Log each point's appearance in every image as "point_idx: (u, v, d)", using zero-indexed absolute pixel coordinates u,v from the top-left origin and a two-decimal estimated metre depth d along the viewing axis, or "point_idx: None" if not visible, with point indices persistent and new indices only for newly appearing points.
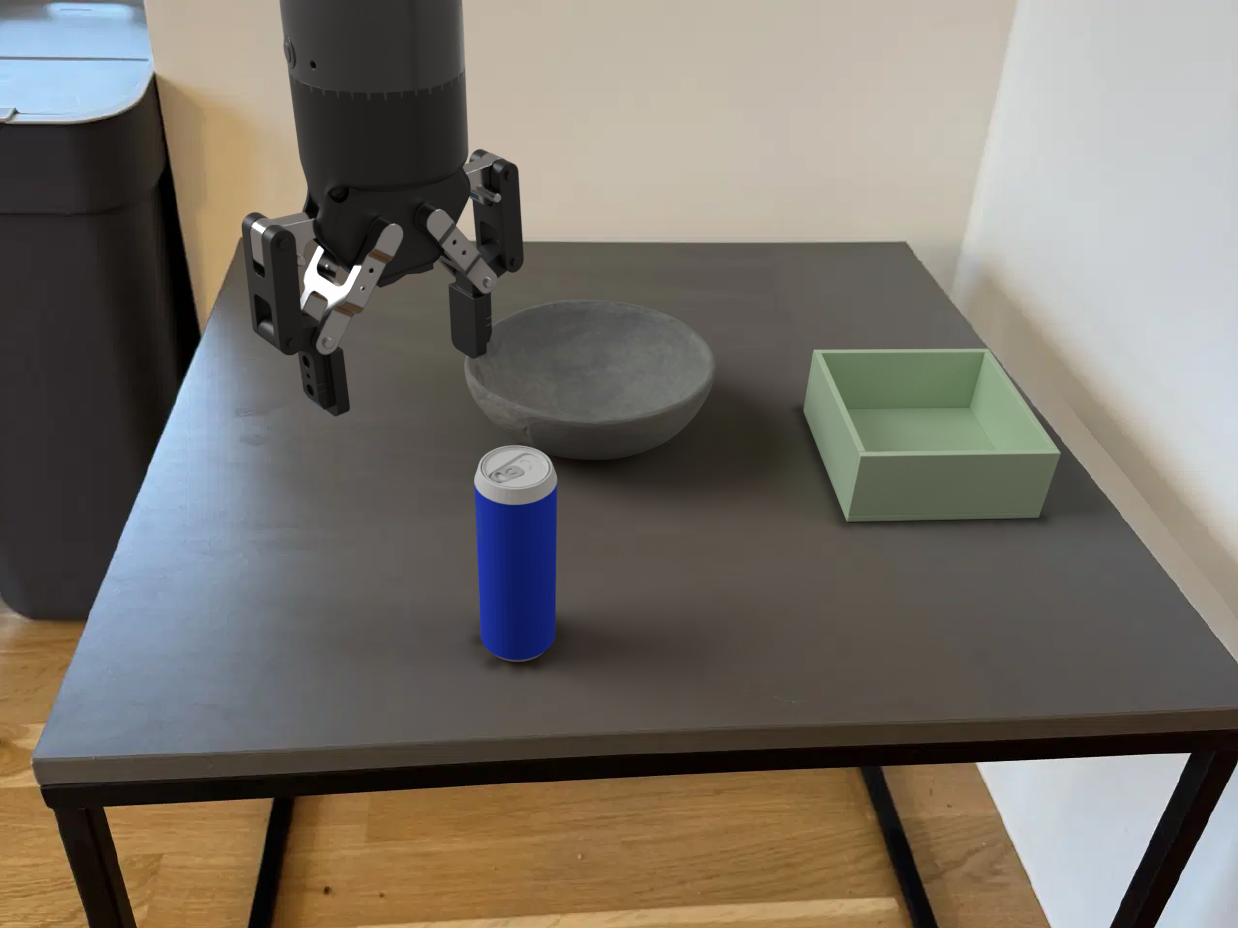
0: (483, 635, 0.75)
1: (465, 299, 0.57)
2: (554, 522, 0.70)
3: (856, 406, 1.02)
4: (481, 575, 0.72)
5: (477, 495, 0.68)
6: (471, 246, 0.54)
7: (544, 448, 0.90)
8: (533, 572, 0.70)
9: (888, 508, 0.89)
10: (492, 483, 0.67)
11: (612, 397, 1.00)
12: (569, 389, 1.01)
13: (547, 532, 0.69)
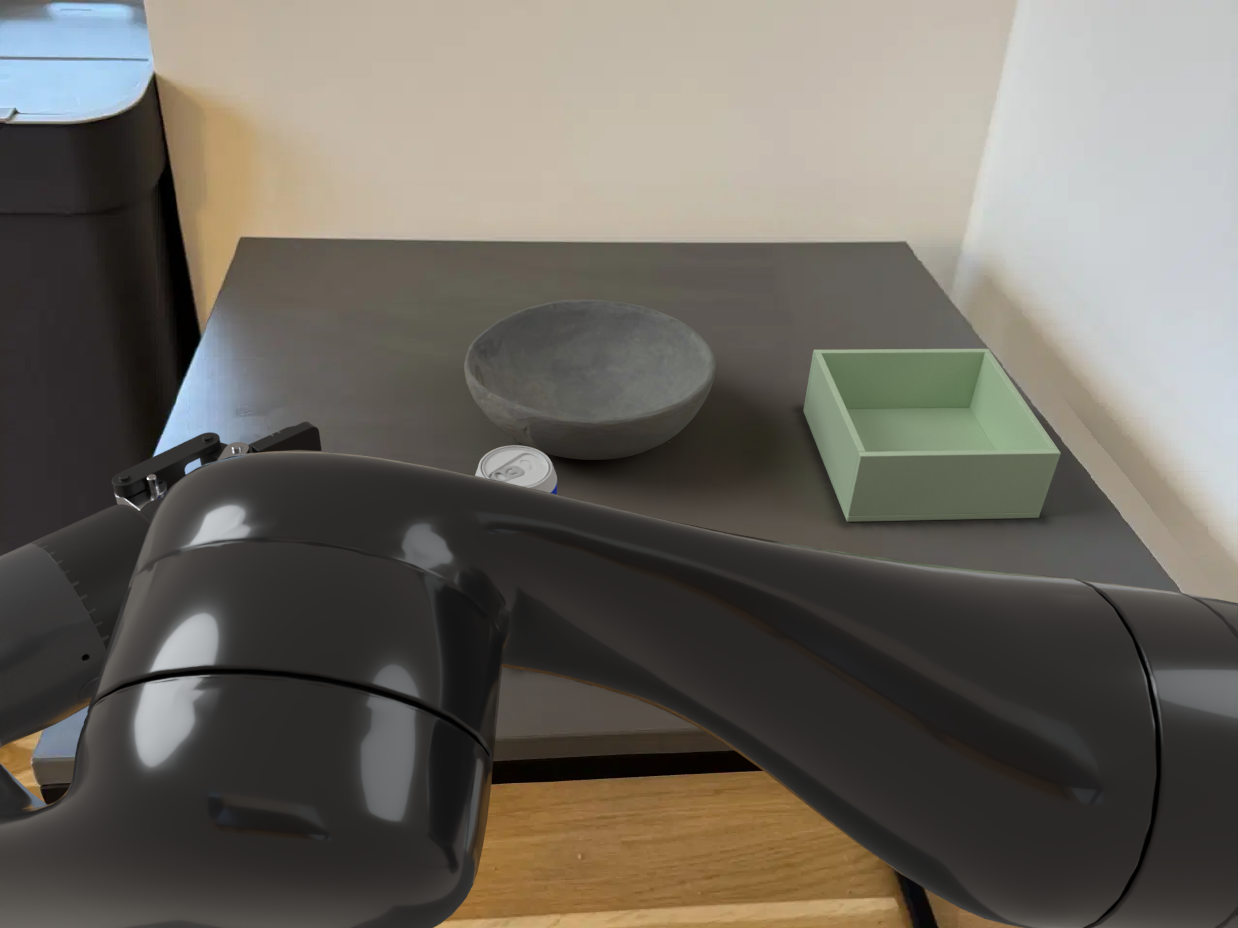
0: None
1: None
2: None
3: (856, 406, 1.02)
4: None
5: None
6: None
7: (544, 448, 0.90)
8: None
9: (888, 508, 0.89)
10: None
11: (612, 397, 1.00)
12: (569, 389, 1.01)
13: None
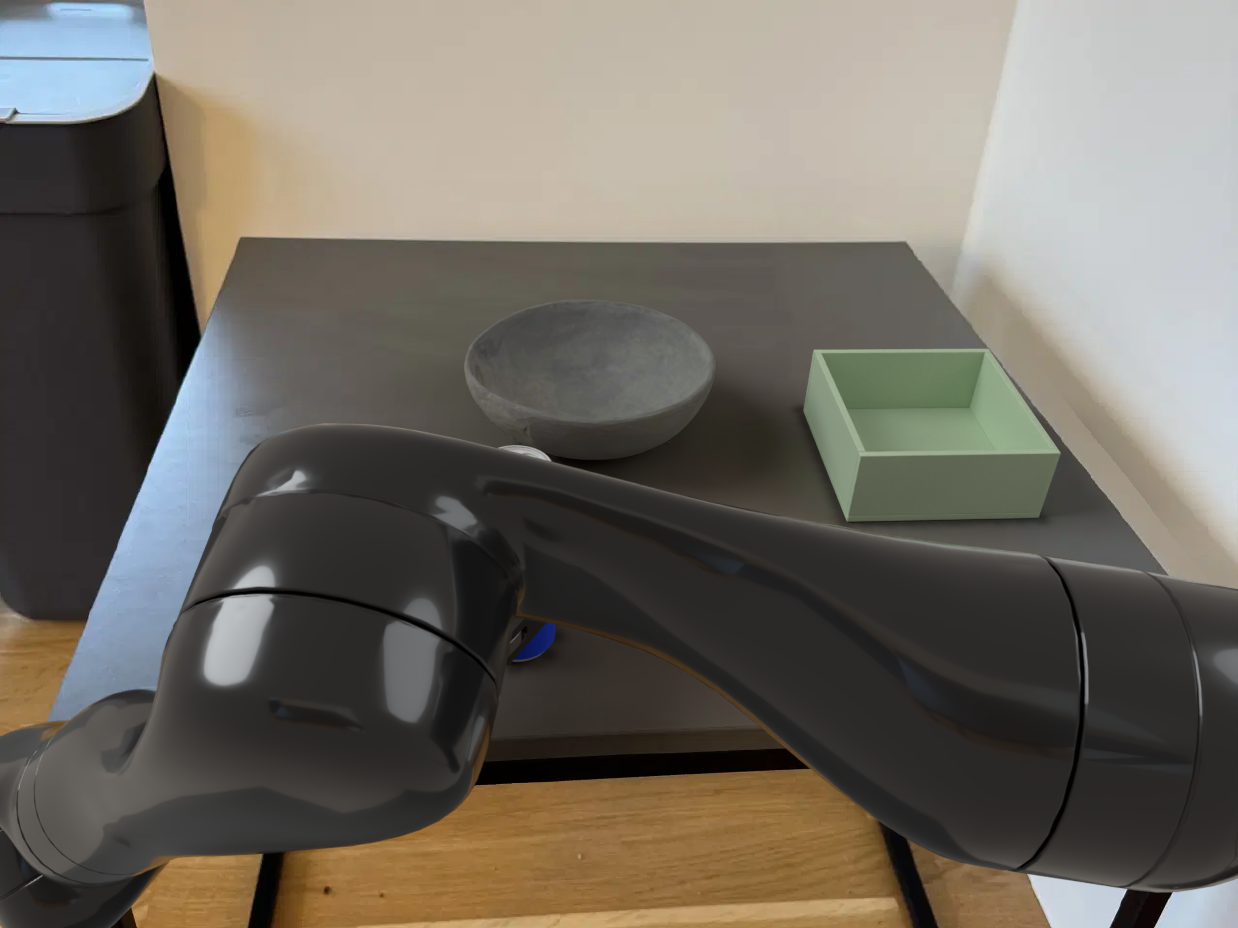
0: None
1: None
2: None
3: (856, 406, 1.02)
4: None
5: None
6: None
7: (544, 448, 0.90)
8: None
9: (888, 508, 0.89)
10: None
11: (612, 397, 1.00)
12: (569, 389, 1.01)
13: None
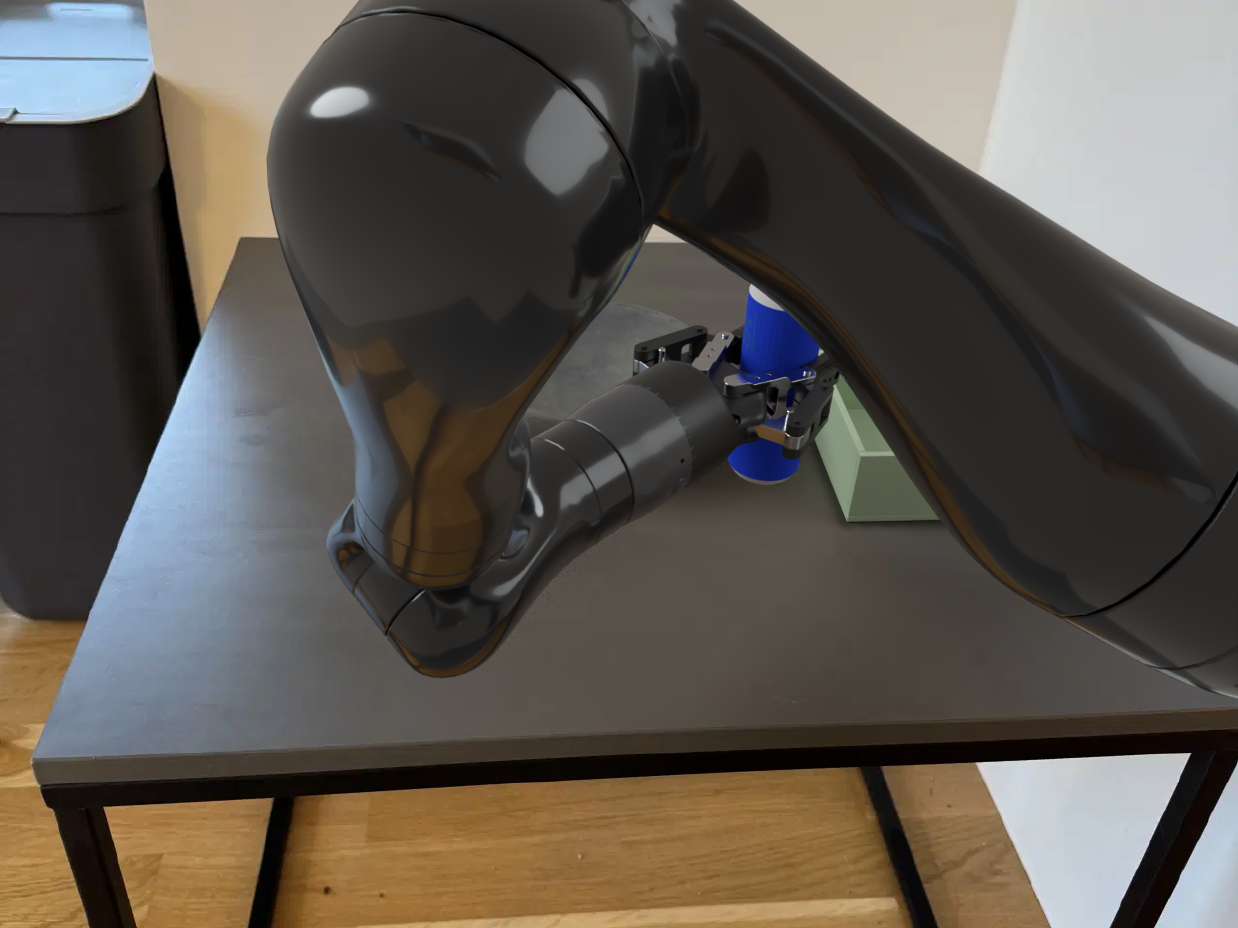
0: (734, 459, 0.78)
1: None
2: None
3: (856, 406, 1.02)
4: None
5: (754, 306, 0.71)
6: (706, 347, 0.73)
7: None
8: None
9: (888, 508, 0.89)
10: None
11: None
12: (569, 389, 1.01)
13: (816, 345, 0.73)
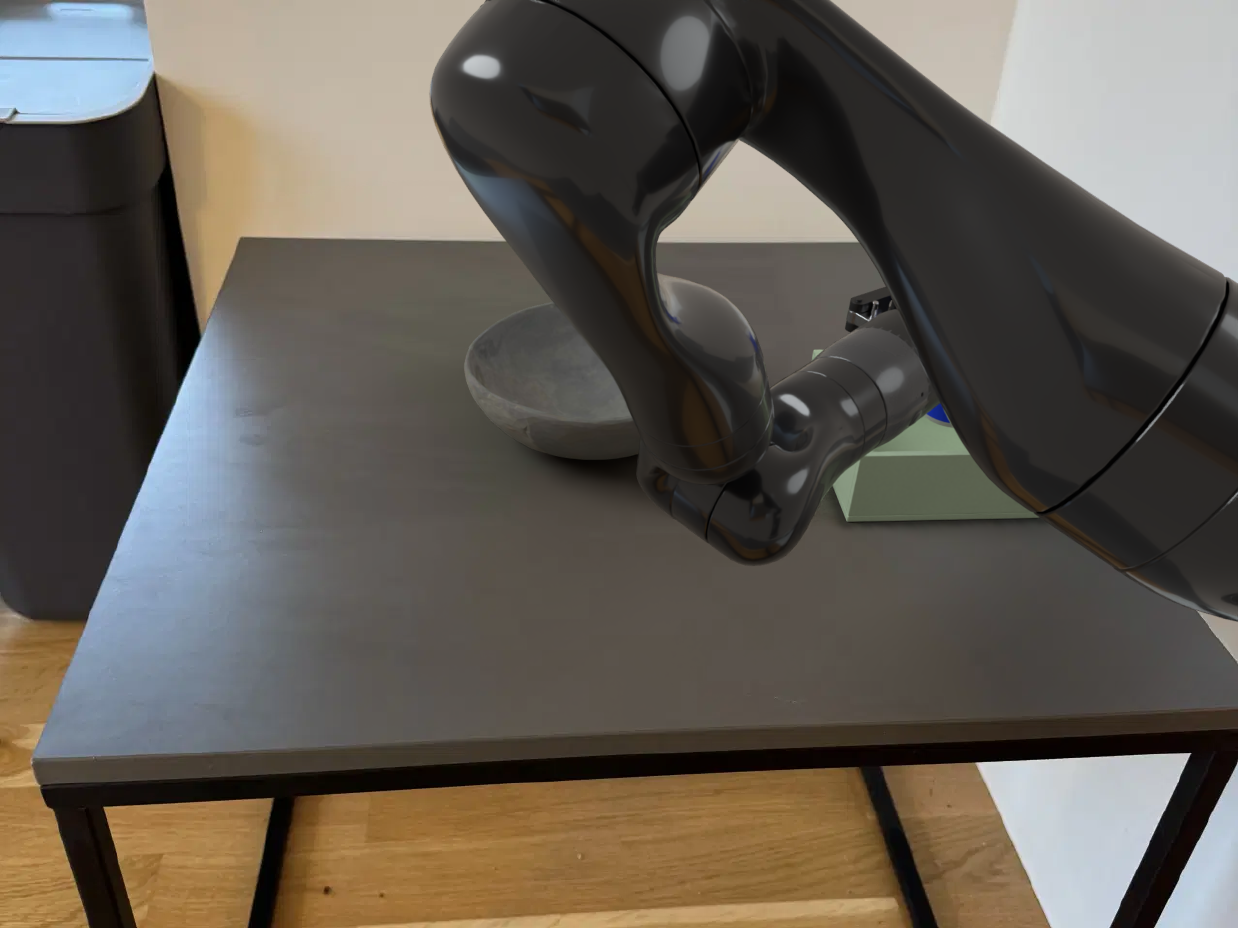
0: None
1: None
2: None
3: None
4: None
5: None
6: None
7: (544, 448, 0.90)
8: None
9: (888, 508, 0.89)
10: None
11: (612, 397, 1.00)
12: (569, 389, 1.01)
13: None
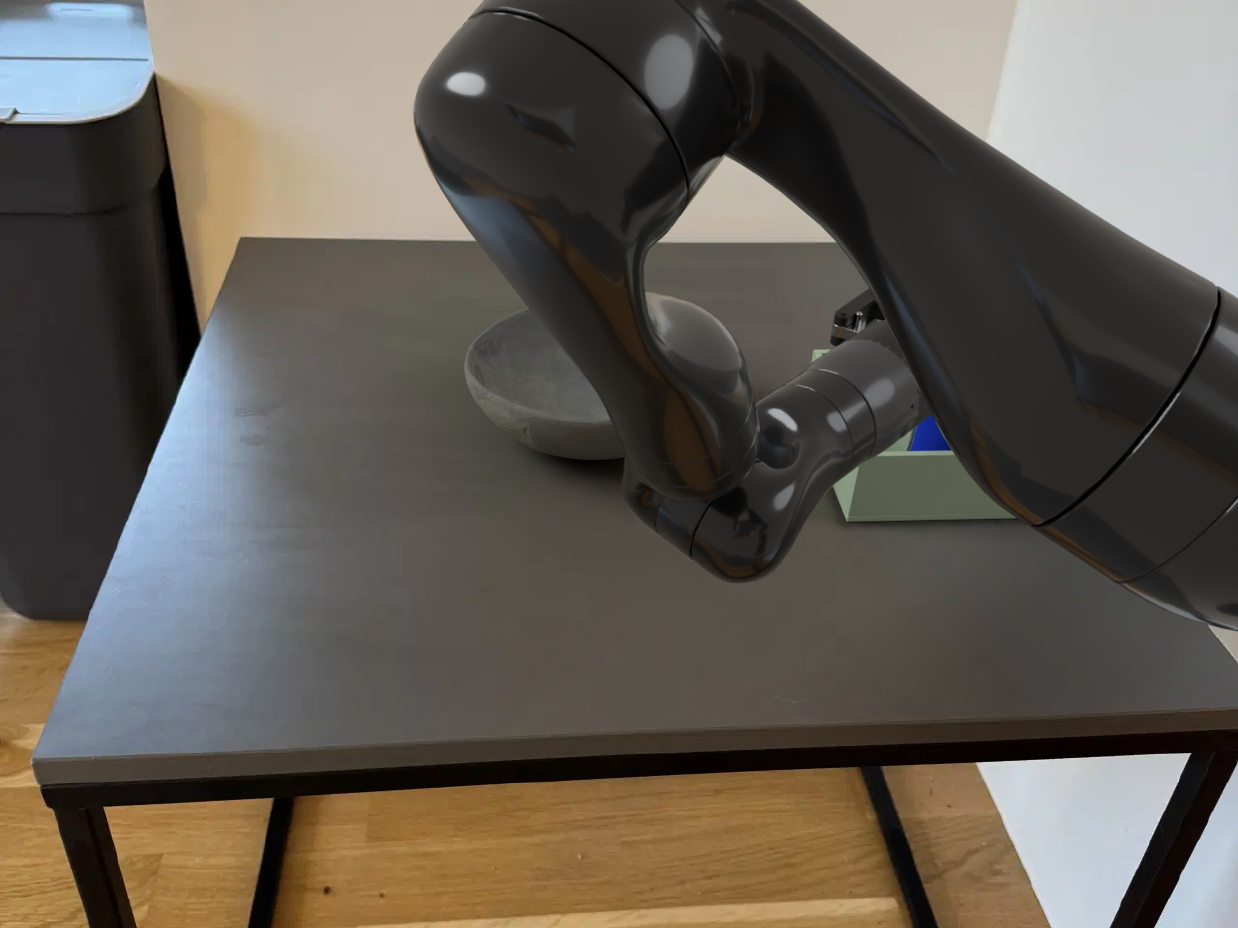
0: None
1: None
2: None
3: None
4: (925, 422, 0.88)
5: None
6: None
7: (544, 448, 0.90)
8: None
9: (888, 508, 0.89)
10: None
11: None
12: (569, 389, 1.01)
13: None
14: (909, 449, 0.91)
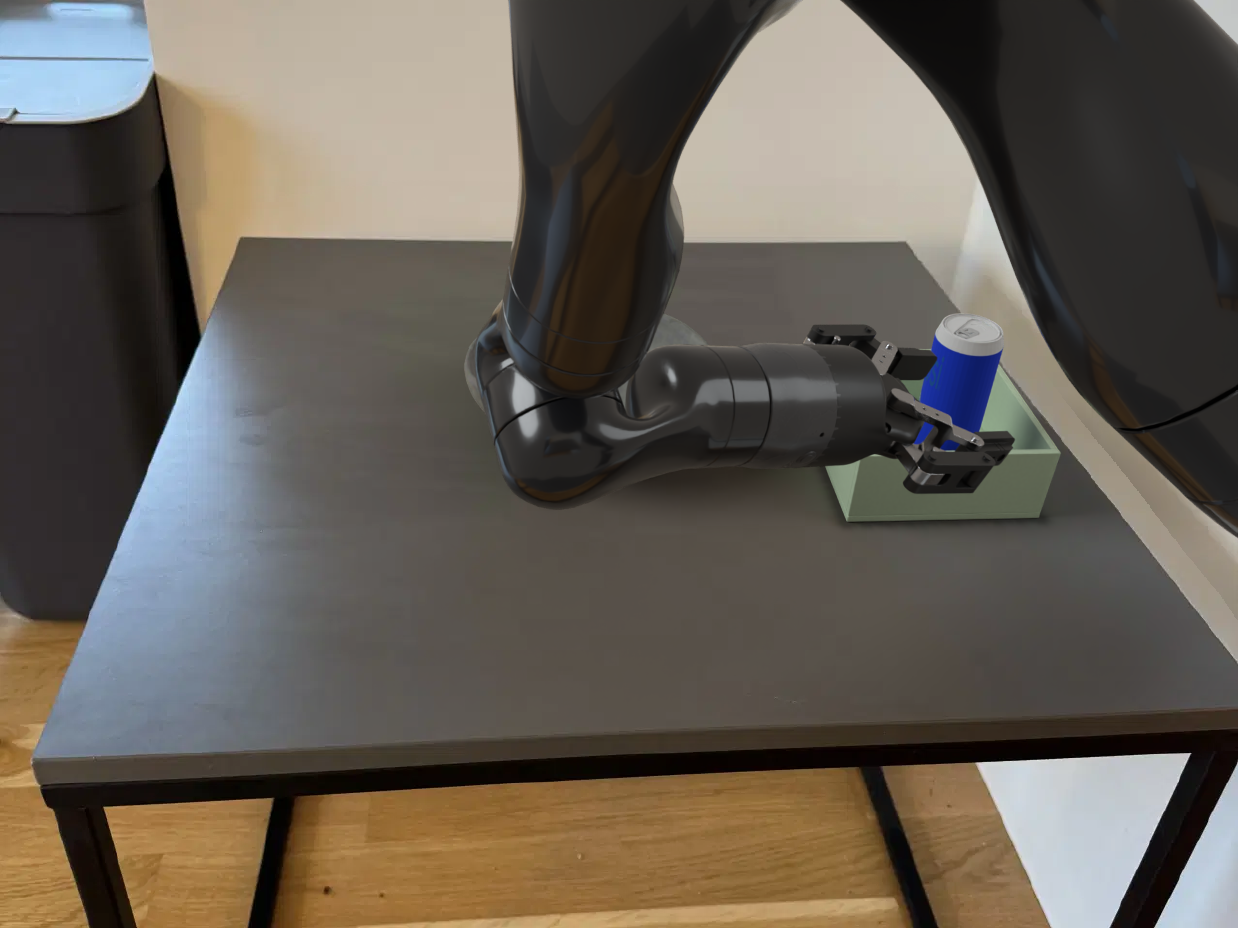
0: None
1: (900, 364, 0.76)
2: None
3: None
4: (925, 422, 0.88)
5: (942, 350, 0.84)
6: (877, 352, 0.73)
7: None
8: (975, 417, 0.86)
9: (888, 508, 0.89)
10: (960, 339, 0.83)
11: None
12: None
13: (992, 382, 0.85)
14: None
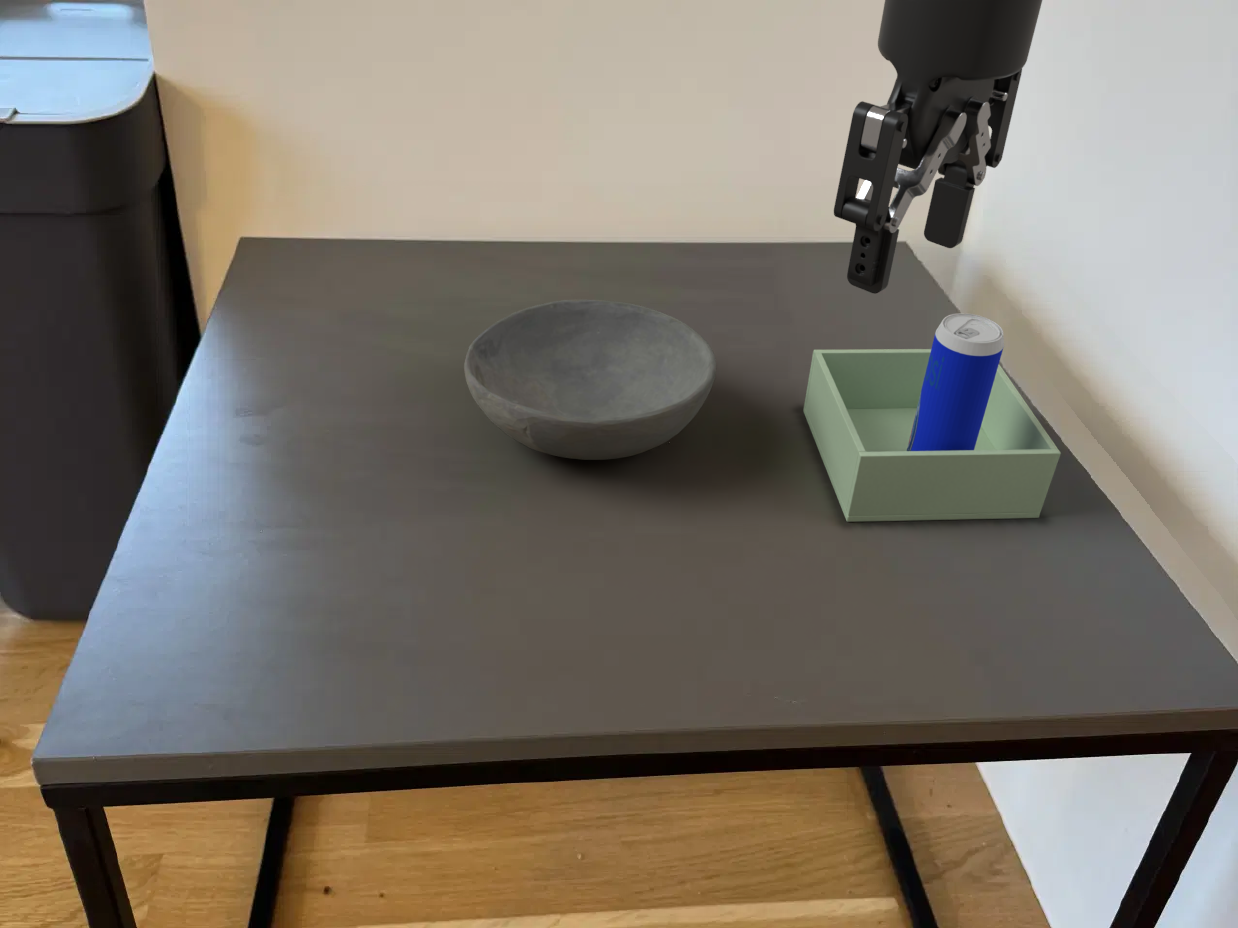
0: None
1: (955, 192, 0.64)
2: None
3: (856, 406, 1.02)
4: (925, 422, 0.88)
5: (942, 350, 0.84)
6: (988, 139, 0.61)
7: (544, 448, 0.90)
8: (975, 417, 0.86)
9: (888, 508, 0.89)
10: (960, 339, 0.83)
11: (612, 397, 1.00)
12: (569, 389, 1.01)
13: (992, 382, 0.85)
14: (909, 449, 0.91)
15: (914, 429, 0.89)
